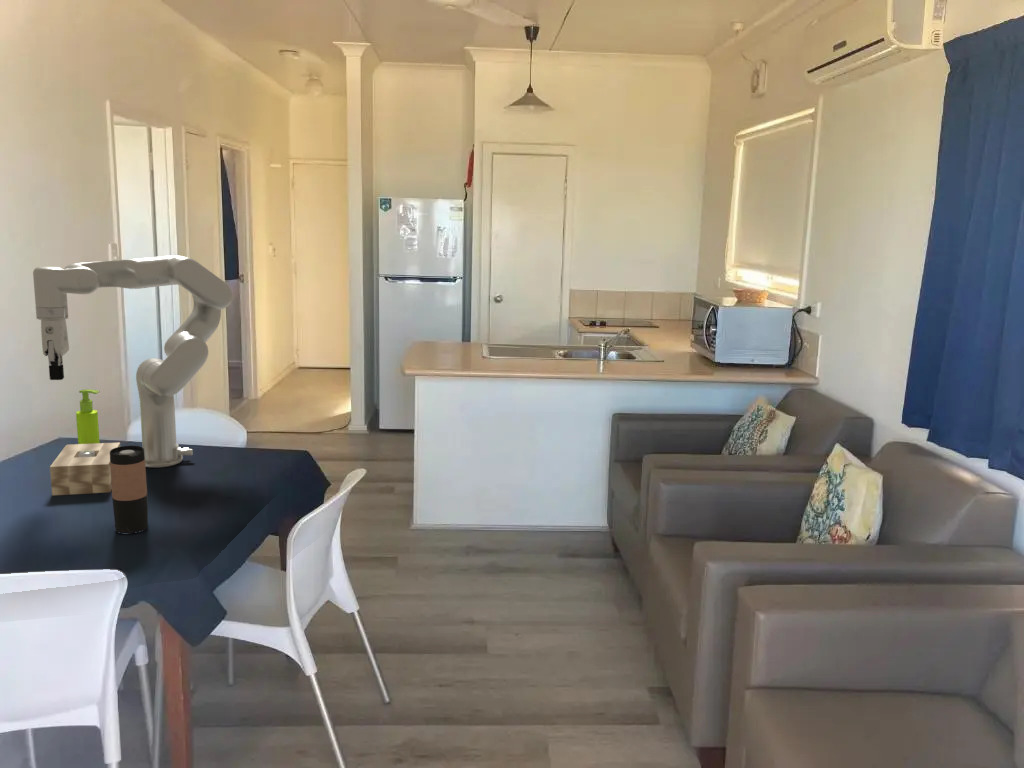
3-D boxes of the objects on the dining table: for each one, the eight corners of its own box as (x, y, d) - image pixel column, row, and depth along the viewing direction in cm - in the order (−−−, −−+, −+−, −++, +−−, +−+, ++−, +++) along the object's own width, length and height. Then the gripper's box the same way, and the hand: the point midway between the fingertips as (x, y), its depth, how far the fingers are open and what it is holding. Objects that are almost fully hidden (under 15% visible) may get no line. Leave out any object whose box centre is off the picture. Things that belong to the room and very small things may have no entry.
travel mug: (121, 522, 201) (116, 445, 196) (153, 522, 201) (149, 445, 197) (109, 534, 193) (103, 454, 189) (142, 535, 194) (137, 455, 189)
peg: (97, 473, 229) (95, 450, 228) (94, 478, 225) (93, 454, 224) (81, 474, 228) (79, 450, 226) (78, 479, 224) (76, 455, 223)
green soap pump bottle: (97, 456, 248) (93, 392, 244) (75, 455, 248) (70, 391, 244) (107, 450, 254) (103, 388, 249) (85, 449, 254) (80, 387, 249)
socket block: (121, 468, 238) (120, 442, 237) (110, 492, 220) (108, 464, 218) (68, 471, 234) (66, 444, 232) (52, 495, 216) (49, 466, 214)
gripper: (62, 317, 213) (67, 385, 217) (72, 309, 227) (76, 373, 231) (30, 316, 211) (35, 385, 214) (42, 309, 224) (47, 373, 228)
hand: (57, 379), depth 223 cm, fingers closed
